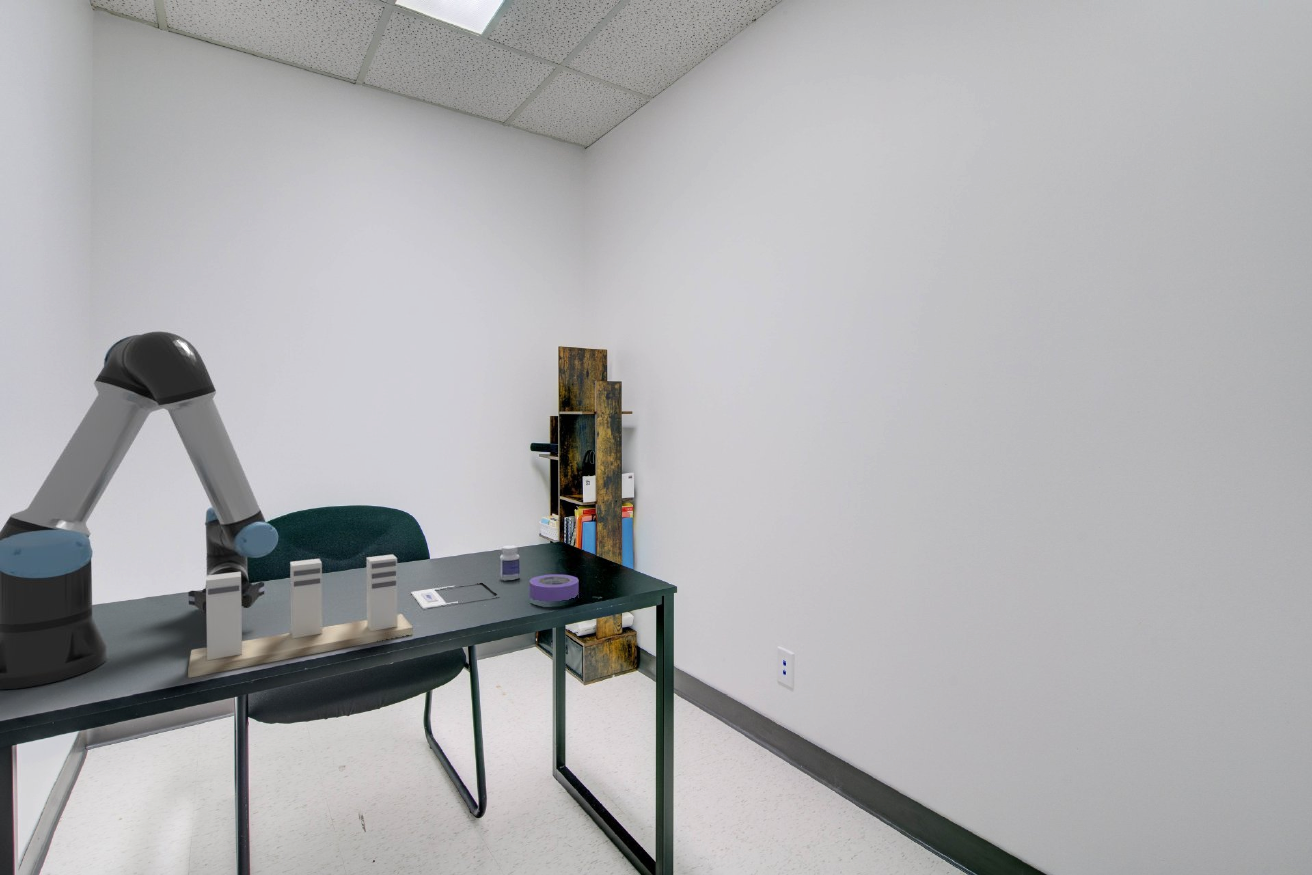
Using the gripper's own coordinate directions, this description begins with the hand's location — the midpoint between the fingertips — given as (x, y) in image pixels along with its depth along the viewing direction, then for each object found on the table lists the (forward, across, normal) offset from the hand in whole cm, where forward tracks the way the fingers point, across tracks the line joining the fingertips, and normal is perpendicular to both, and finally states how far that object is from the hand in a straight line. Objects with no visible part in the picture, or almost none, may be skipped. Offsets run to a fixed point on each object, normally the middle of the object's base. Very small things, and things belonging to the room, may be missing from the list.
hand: (227, 614), depth 109 cm
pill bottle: (-22, -63, -8) cm, 67 cm away
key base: (+2, -12, -8) cm, 15 cm away
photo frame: (-15, -46, -9) cm, 49 cm away
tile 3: (+3, -26, -6) cm, 26 cm away
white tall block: (-1, -12, -6) cm, 14 cm away
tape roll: (+2, -64, -8) cm, 65 cm away
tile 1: (+2, 0, -6) cm, 7 cm away
